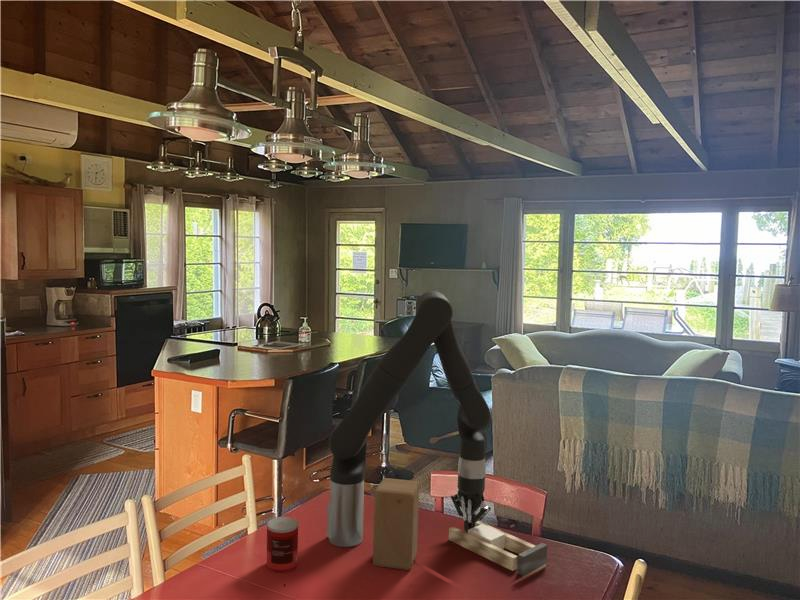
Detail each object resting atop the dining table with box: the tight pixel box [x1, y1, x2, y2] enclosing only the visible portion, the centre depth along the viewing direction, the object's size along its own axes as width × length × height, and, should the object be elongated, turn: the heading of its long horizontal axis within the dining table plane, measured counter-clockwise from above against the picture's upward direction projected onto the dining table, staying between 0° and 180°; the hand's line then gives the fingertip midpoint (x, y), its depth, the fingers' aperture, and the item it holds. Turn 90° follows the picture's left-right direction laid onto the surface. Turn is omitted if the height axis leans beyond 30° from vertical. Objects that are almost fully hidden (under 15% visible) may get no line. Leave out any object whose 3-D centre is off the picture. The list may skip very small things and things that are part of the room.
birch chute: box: [448, 520, 548, 579], centre depth 170 cm, size 26×10×6 cm, turn 43°
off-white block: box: [468, 524, 506, 550], centre depth 172 cm, size 8×6×4 cm
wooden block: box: [372, 477, 420, 571], centre depth 164 cm, size 10×10×20 cm
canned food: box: [266, 516, 299, 574], centre depth 160 cm, size 8×8×11 cm
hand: (469, 533), depth 176 cm, fingers closed
